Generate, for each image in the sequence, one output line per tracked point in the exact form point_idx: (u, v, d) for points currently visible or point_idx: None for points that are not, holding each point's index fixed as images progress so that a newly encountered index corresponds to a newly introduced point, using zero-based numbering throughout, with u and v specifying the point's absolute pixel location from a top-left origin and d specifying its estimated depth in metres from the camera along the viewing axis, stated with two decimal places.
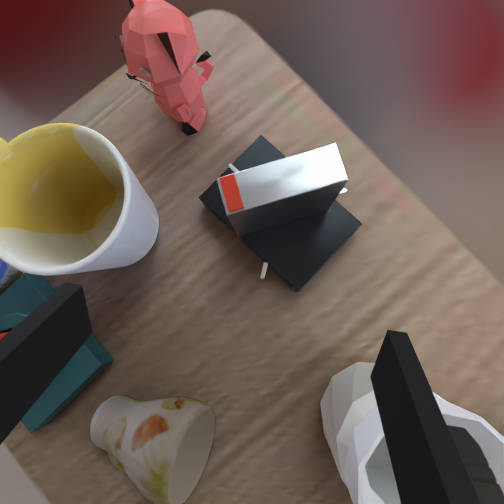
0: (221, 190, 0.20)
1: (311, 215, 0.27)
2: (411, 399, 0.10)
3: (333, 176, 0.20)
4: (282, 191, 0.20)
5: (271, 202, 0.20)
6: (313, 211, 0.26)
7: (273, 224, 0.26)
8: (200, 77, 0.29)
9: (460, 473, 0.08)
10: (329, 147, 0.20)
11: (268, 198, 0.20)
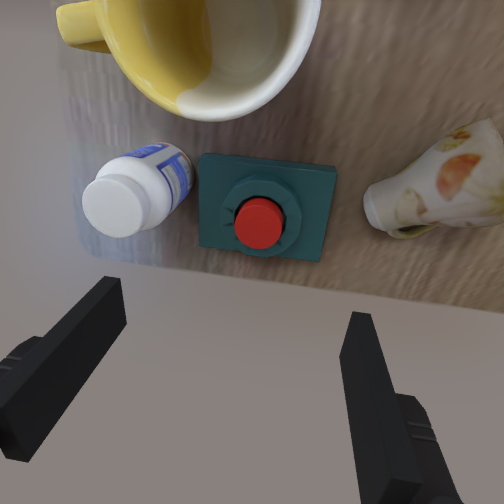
0: None
1: None
2: (365, 370, 0.11)
3: None
4: None
5: None
6: None
7: None
8: None
9: (400, 430, 0.09)
10: None
11: None
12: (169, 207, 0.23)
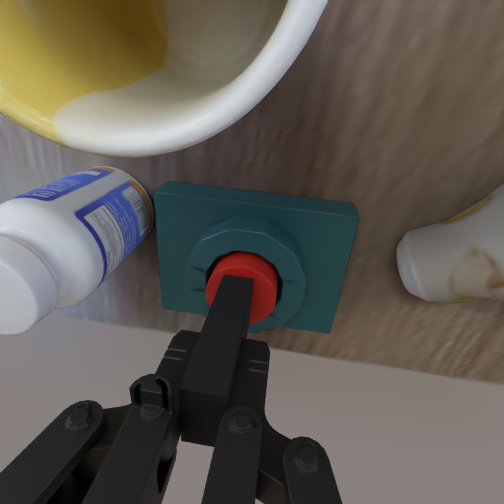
0: None
1: None
2: (225, 319, 0.12)
3: None
4: None
5: None
6: None
7: None
8: None
9: (228, 361, 0.11)
10: None
11: None
12: (99, 274, 0.15)
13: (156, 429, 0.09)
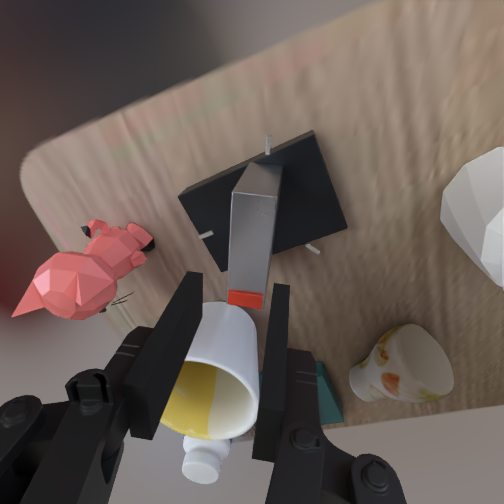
0: None
1: None
2: (268, 329, 0.12)
3: (267, 210, 0.18)
4: (261, 260, 0.20)
5: (267, 272, 0.20)
6: None
7: None
8: (103, 229, 0.28)
9: (279, 373, 0.10)
10: (235, 200, 0.18)
11: (263, 273, 0.20)
12: (229, 444, 0.35)
13: (97, 422, 0.09)
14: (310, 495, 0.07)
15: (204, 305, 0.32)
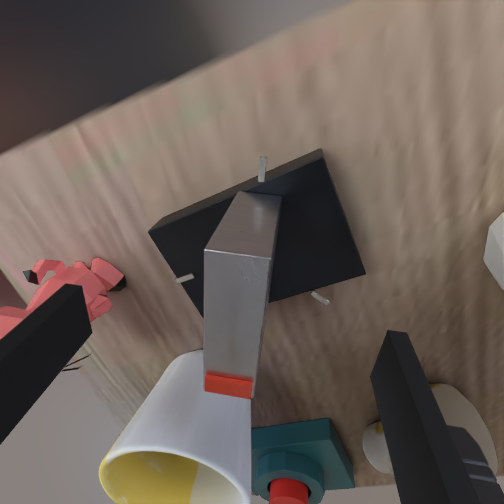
0: None
1: None
2: (411, 399, 0.10)
3: (257, 276, 0.12)
4: (250, 339, 0.14)
5: (258, 354, 0.14)
6: (277, 229, 0.18)
7: (271, 276, 0.20)
8: (57, 270, 0.23)
9: (460, 473, 0.08)
10: (208, 261, 0.12)
11: (252, 356, 0.14)
12: None
13: None
14: None
15: (186, 357, 0.26)
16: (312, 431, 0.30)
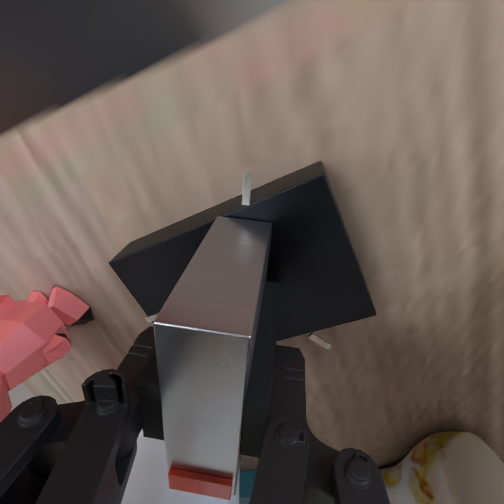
0: None
1: None
2: None
3: (231, 359, 0.08)
4: (226, 432, 0.10)
5: (238, 450, 0.10)
6: (266, 266, 0.14)
7: None
8: (3, 307, 0.19)
9: (267, 369, 0.10)
10: (161, 337, 0.08)
11: (230, 451, 0.10)
12: None
13: (112, 422, 0.09)
14: (294, 489, 0.08)
15: None
16: None
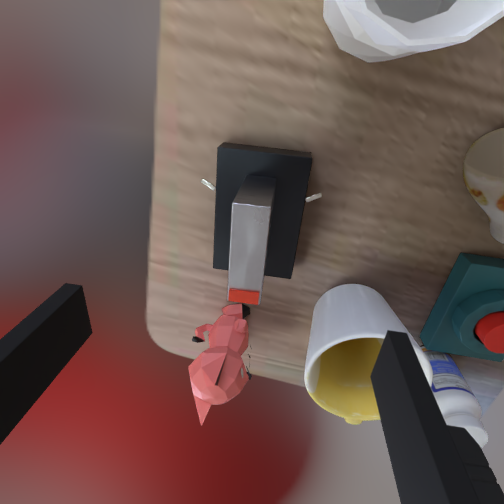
0: (238, 301, 0.24)
1: None
2: (411, 399, 0.10)
3: (262, 219, 0.21)
4: (258, 262, 0.23)
5: (263, 272, 0.23)
6: (273, 200, 0.27)
7: None
8: (208, 329, 0.35)
9: (460, 473, 0.08)
10: (234, 210, 0.21)
11: (259, 273, 0.23)
12: (467, 394, 0.31)
13: None
14: None
15: (314, 310, 0.34)
16: (458, 273, 0.31)
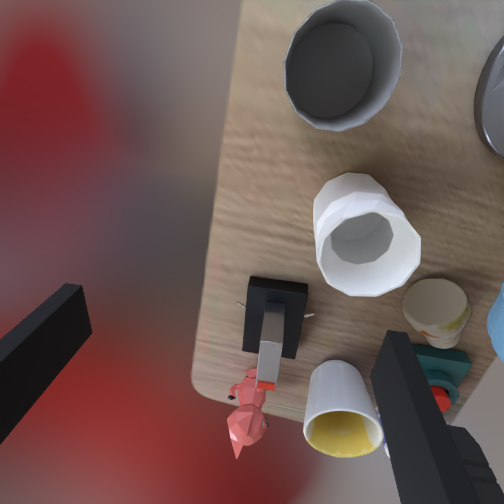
0: None
1: None
2: (411, 399, 0.10)
3: (277, 349, 0.36)
4: (274, 368, 0.38)
5: None
6: None
7: None
8: (237, 388, 0.51)
9: (460, 473, 0.08)
10: (261, 344, 0.36)
11: (275, 374, 0.38)
12: None
13: None
14: None
15: (311, 377, 0.49)
16: None
